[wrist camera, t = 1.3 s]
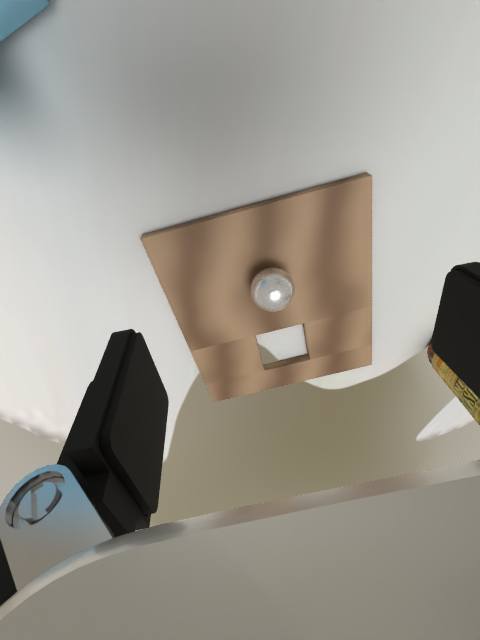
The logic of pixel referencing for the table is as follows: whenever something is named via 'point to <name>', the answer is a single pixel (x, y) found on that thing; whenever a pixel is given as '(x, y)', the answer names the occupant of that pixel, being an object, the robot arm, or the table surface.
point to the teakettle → (18, 14)
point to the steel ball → (272, 289)
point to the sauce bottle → (456, 385)
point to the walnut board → (273, 252)
